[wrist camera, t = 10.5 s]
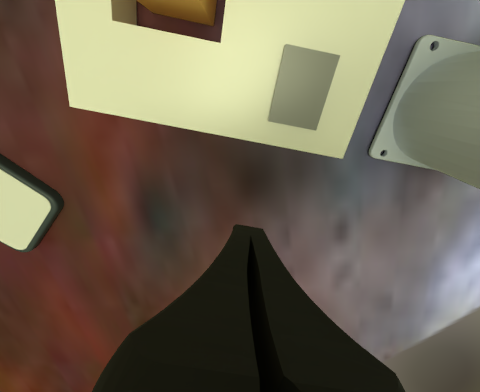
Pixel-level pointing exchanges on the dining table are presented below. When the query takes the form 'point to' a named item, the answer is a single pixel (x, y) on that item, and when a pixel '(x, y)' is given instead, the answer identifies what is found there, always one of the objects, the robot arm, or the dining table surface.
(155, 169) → the dining table surface
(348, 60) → the socket plate
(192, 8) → the plug
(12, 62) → the dining table surface
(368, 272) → the dining table surface
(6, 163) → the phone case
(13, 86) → the dining table surface
